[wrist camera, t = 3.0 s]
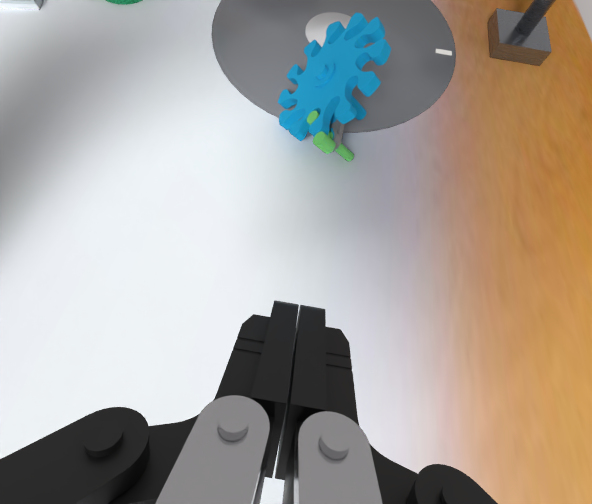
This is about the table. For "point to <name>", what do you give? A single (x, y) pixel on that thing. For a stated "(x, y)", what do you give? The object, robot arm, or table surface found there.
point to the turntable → (312, 26)
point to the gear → (334, 83)
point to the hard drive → (21, 4)
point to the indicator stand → (520, 34)
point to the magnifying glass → (123, 1)
